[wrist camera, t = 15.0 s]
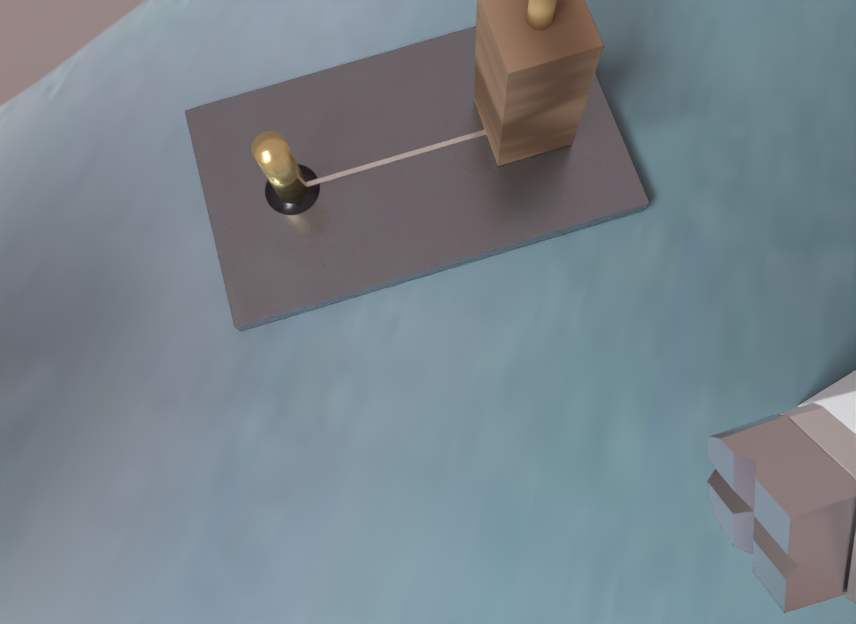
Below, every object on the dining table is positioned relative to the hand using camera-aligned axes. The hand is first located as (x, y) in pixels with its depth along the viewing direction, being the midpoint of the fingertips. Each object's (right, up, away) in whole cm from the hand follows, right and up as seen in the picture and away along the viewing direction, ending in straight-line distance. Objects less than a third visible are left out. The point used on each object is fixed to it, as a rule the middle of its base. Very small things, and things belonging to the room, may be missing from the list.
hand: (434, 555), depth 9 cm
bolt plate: (-1, +12, +32) cm, 34 cm away
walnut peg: (+5, +14, +31) cm, 34 cm away
